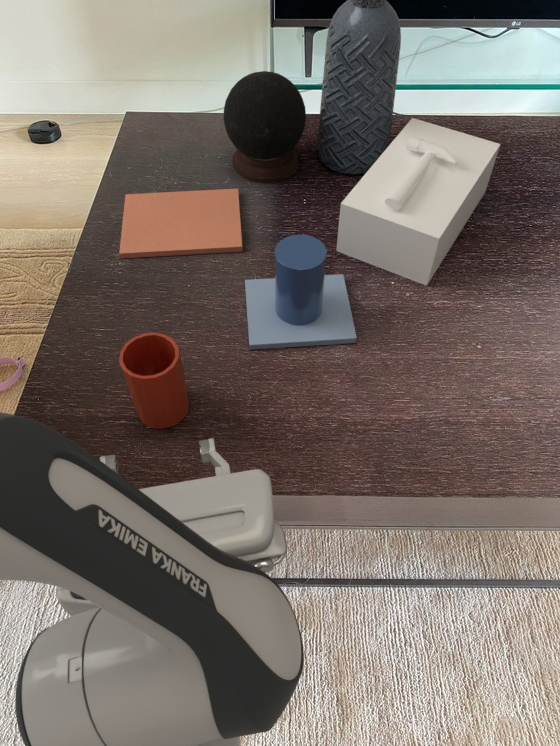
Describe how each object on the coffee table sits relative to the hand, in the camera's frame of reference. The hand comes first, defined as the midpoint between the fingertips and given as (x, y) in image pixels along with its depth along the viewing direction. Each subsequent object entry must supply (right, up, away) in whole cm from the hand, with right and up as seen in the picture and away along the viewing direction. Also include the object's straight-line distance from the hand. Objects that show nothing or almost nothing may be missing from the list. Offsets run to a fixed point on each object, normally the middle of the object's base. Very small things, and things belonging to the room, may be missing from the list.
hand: (158, 449), depth 60 cm
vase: (+24, +45, +47) cm, 69 cm away
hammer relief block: (+33, +31, +36) cm, 58 cm away
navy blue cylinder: (+14, +16, +24) cm, 32 cm away
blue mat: (+14, +16, +24) cm, 32 cm away
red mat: (-3, +30, +36) cm, 47 cm away
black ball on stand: (+9, +43, +46) cm, 63 cm away
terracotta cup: (-2, +3, +15) cm, 15 cm away
